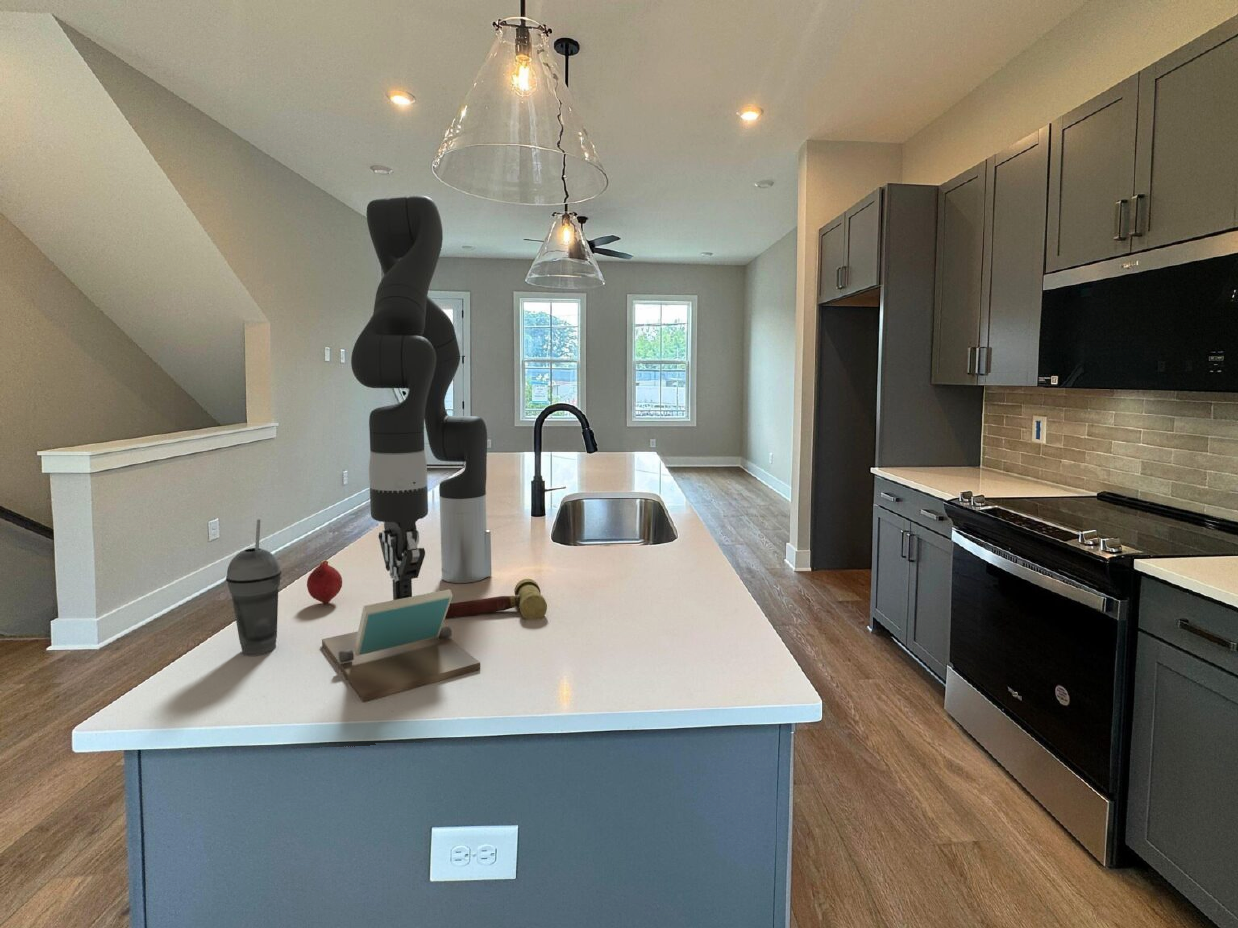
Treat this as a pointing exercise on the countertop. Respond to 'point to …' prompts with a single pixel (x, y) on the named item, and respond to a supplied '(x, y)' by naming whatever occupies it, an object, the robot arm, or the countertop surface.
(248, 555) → the beverage cup
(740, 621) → the countertop surface
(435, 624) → the tile
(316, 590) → the onion
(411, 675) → the walnut board
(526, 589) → the gavel
